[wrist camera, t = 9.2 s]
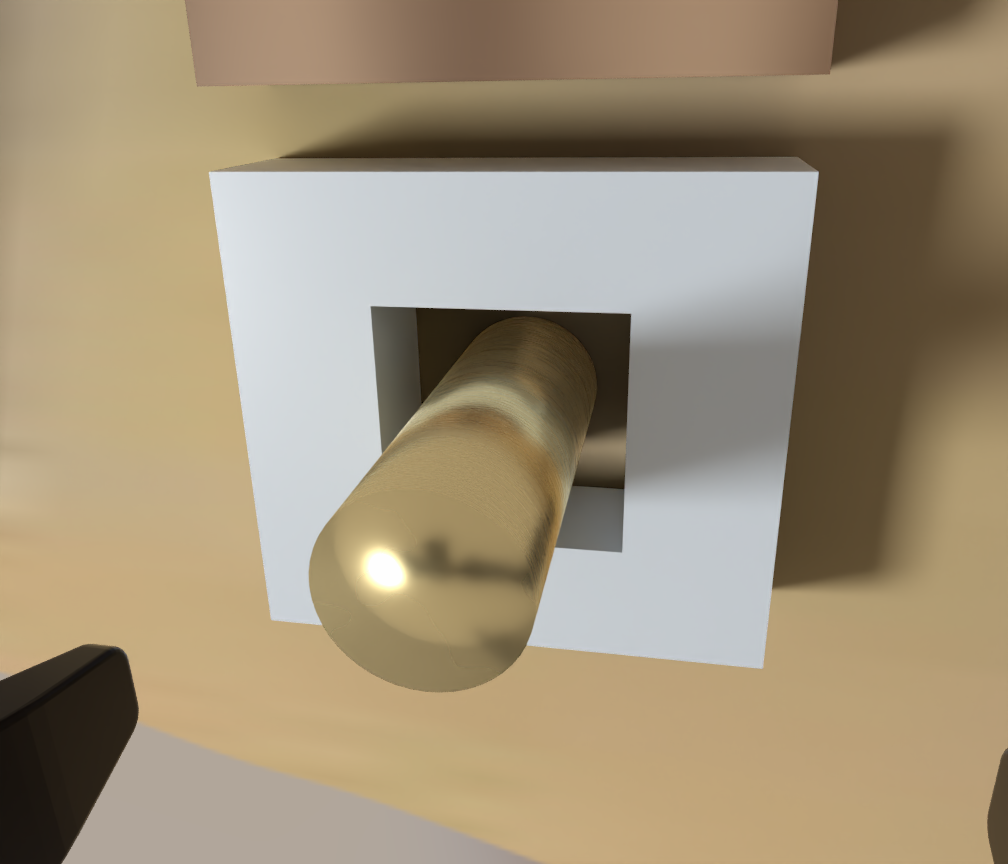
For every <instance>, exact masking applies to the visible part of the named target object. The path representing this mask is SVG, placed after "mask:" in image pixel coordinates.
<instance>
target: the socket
mask: <svg viewBox="0 0 1008 864" xmlns="http://www.w3.org/2000/svg"><path fill="white" fill-rule="evenodd" d="M818 175H819V172H818V171H817V170H816V169H814V168H813V167H811V166H810V165H808V164H807V163H806V162H804V161H803V160H801V159H800V158H798V157H553V158H276V159H271V160H266V161H261V162H256V163H250V164H245V165H240V166H235V167H230V168H225V169H220V170H215V171H210V172H209V176H210V183H211V191H212V198H213V205H214V212H215V219H216V227H217V234H218V241H219V248H220V255H221V262H222V270H223V277H224V284H225V291H226V298H227V306H228V313H229V320H230V327H231V334H232V341H233V349H234V356H235V363H236V370H237V377H238V385H239V392H240V399H241V406H242V413H243V420H244V428H245V435H246V442H247V449H248V456H249V464H250V471H251V478H252V485H253V492H254V499H255V507H256V514H257V521H258V528H259V535H260V543H261V550H262V557H263V564H264V571H265V579H266V586H267V593H268V600H269V607H270V614H271V620H276V621H286V622H296V623H307V624H317V625H322V623H321V621H320V619H319V617H318V615H317V613H316V611H315V608H314V605H313V602H312V598H311V593H310V588H309V563H310V557H311V554H312V550H313V547H314V544H315V542H316V540H317V538H318V536H319V534H320V532H321V531H322V529H323V528H324V526H325V525H326V524H327V522H328V521H329V520H330V519H331V517H332V516H333V515H334V514H335V512H336V511H337V510H338V509H339V507H340V506H341V505H342V504H343V502H344V501H345V500H346V499H347V497H348V496H349V495H350V494H351V492H352V491H353V490H354V489H355V487H356V486H357V485H358V484H359V482H360V481H361V480H362V479H363V477H364V476H365V475H366V474H367V472H368V471H369V470H370V469H371V467H372V466H373V465H374V464H375V462H376V461H377V460H378V459H379V457H380V456H381V455H382V454H383V452H384V451H385V450H386V449H387V447H388V446H389V445H390V444H391V442H392V441H393V440H394V439H395V437H396V436H397V435H398V434H399V432H400V431H401V430H402V429H403V427H404V426H405V425H406V424H407V422H408V421H409V420H410V419H411V417H412V416H413V415H414V414H415V413H416V411H417V410H418V409H419V408H420V406H421V388H420V370H419V352H418V335H417V317H416V307H418V308H453V309H487V310H521V311H556V312H590V313H625V314H631V333H630V360H629V386H628V413H627V439H626V466H625V489H614V488H598V487H583V486H572V487H571V491H570V495H569V498H568V502H567V505H566V509H565V513H564V516H563V520H562V524H561V527H560V531H559V535H558V538H557V542H556V546H555V549H554V553H553V557H552V560H551V564H550V567H549V571H548V575H547V578H546V582H545V586H544V589H543V593H542V597H541V600H540V604H539V608H538V611H537V615H536V618H535V622H534V626H533V629H532V633H531V635H530V638H529V640H528V643H527V645H528V646H539V647H549V648H559V649H569V650H579V651H589V652H599V653H609V654H619V655H629V656H639V657H649V658H660V659H670V660H680V661H690V662H700V663H710V664H720V665H730V666H740V667H750V668H760V669H763V662H764V653H765V644H766V635H767V626H768V618H769V609H770V600H771V591H772V582H773V573H774V565H775V556H776V547H777V538H778V529H779V520H780V511H781V503H782V494H783V485H784V476H785V467H786V458H787V450H788V441H789V432H790V423H791V414H792V405H793V397H794V388H795V379H796V370H797V361H798V352H799V343H800V335H801V326H802V317H803V308H804V299H805V290H806V282H807V273H808V264H809V255H810V246H811V237H812V228H813V220H814V211H815V202H816V193H817V184H818Z"/></svg>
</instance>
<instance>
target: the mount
mask: <svg viewBox="0 0 1008 864" xmlns="http://www.w3.org/2000/svg"><path fill="white" fill-rule="evenodd" d="M185 4H186V11H187V18H188V25H189V33H190V40H191V47H192V54H193V61H194V68H195V76H196V83H197V86H243V85H295V84H347V83H399V82H451V81H503V80H555V79H606V78H658V77H710V76H762V75H814V74H830V69H831V60H832V52H833V43H834V34H835V25H836V16H837V7H838V0H185Z"/></svg>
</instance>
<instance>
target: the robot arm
mask: <svg viewBox="0 0 1008 864" xmlns="http://www.w3.org/2000/svg"><path fill="white" fill-rule="evenodd" d="M138 711H139V707H138V701H137V697H136V692H135V688H134V683H133V679H132V674H131V670H130V665H129V661H128V657H127V655H126V653H125V652H124V651H123V650H122V649H120V648H118V647H115V646H106V645H97V644H86V645H82V646H80V647H77V648H75V649H73V650H70V651H68V652H66V653H63V654H61V655H59V656H56V657H54V658H52V659H50V660H47V661H45V662H43V663H40V664H38V665H36V666H33V667H31V668H29V669H26V670H24V671H22V672H20V673H17V674H15V675H13V676H10V677H8V678H6V679H3V680H1V681H0V864H61V863H62V862H63V860H64V859H65V857H66V856H67V854H68V852H69V850H70V849H71V847H72V845H73V843H74V841H75V840H76V838H77V836H78V835H79V833H80V831H81V829H82V827H83V825H84V823H85V821H86V820H87V818H88V816H89V814H90V812H91V810H92V808H93V807H94V805H95V803H96V801H97V799H98V797H99V795H100V793H101V792H102V790H103V788H104V786H105V784H106V782H107V780H108V779H109V777H110V775H111V773H112V771H113V769H114V767H115V765H116V763H117V762H118V760H119V758H120V756H121V754H122V752H123V750H124V748H125V747H126V745H127V743H128V741H129V739H130V737H131V735H132V733H133V731H134V729H135V727H136V724H137V720H138ZM987 828H988V838H989V843H990V848H991V852H992V856H993V861H994V864H1008V748H1007V749H1006V750H1005V751H1004V753H1003V755H1002V757H1001V760H1000V765H999V769H998V773H997V777H996V782H995V786H994V790H993V794H992V798H991V803H990V807H989V811H988V820H987Z"/></svg>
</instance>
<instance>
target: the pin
mask: <svg viewBox="0 0 1008 864" xmlns="http://www.w3.org/2000/svg"><path fill="white" fill-rule="evenodd" d="M596 393H597V378H596V373H595V368H594V365H593V362H592V360H591V358H590V356H589V354H588V352H587V351H586V349H585V348H584V346H583V345H582V344H581V342H580V341H579V340H578V339H577V338H576V337H575V336H574V335H573V334H572V333H570V332H569V331H568V330H566V329H565V328H563V327H562V326H560V325H558V324H556V323H554V322H551V321H548V320H545V319H541V318H537V317H527V316H526V317H513V318H508V319H505V320H502V321H499V322H497V323H495V324H492V325H491V326H489V327H488V328H486V329H485V330H483V331H482V332H481V333H480V334H479V335H478V336H477V337H476V338H475V339H474V340H473V341H472V343H471V344H470V345H469V346H468V348H467V349H466V350H465V351H464V353H463V354H462V355H461V356H460V358H459V359H458V360H457V361H456V363H455V364H454V365H453V366H452V368H451V369H450V370H449V371H448V373H447V374H446V375H445V376H444V378H443V379H442V380H441V381H440V383H439V384H438V385H437V386H436V388H435V389H434V390H433V391H432V393H431V394H430V395H429V396H428V398H427V399H426V400H425V401H424V403H423V404H422V405H421V406H420V408H419V409H418V410H417V411H416V413H415V414H414V415H413V416H412V417H411V419H410V420H409V421H408V422H407V424H406V425H405V426H404V427H403V429H402V430H401V431H400V432H399V434H398V435H397V436H396V437H395V439H394V440H393V441H392V442H391V444H390V445H389V446H388V447H387V449H386V450H385V451H384V452H383V454H382V455H381V456H380V457H379V459H378V460H377V461H376V462H375V464H374V465H373V466H372V467H371V469H370V470H369V471H368V472H367V474H366V475H365V476H364V477H363V479H362V480H361V481H360V482H359V484H358V485H357V486H356V487H355V489H354V490H353V491H352V492H351V494H350V495H349V496H348V497H347V499H346V500H345V501H344V502H343V504H342V505H341V506H340V507H339V509H338V510H337V511H336V512H335V514H334V515H333V516H332V517H331V519H330V520H329V521H328V522H327V524H326V525H325V526H324V528H323V529H322V531H321V532H320V534H319V536H318V538H317V540H316V542H315V544H314V547H313V550H312V554H311V557H310V563H309V588H310V593H311V598H312V602H313V605H314V608H315V611H316V613H317V615H318V617H319V619H320V621H321V623H322V625H323V627H324V628H325V630H326V631H327V633H328V635H329V636H330V637H331V639H332V640H333V641H334V642H335V644H336V645H337V646H338V647H339V648H340V649H341V650H342V651H343V652H344V653H345V654H346V655H347V656H348V657H349V658H350V659H352V660H353V661H354V662H355V663H357V664H358V665H359V666H361V667H362V668H364V669H365V670H367V671H368V672H370V673H371V674H373V675H375V676H377V677H379V678H381V679H383V680H385V681H388V682H390V683H393V684H395V685H398V686H402V687H405V688H409V689H413V690H419V691H425V692H454V691H460V690H465V689H469V688H473V687H476V686H479V685H481V684H484V683H486V682H488V681H490V680H492V679H494V678H495V677H497V676H498V675H500V674H502V673H503V672H504V671H505V670H506V669H508V668H509V667H510V666H511V665H512V664H513V663H514V662H515V661H516V659H517V658H518V657H519V656H520V655H521V653H522V651H523V650H524V648H525V646H526V645H527V643H528V640H529V638H530V635H531V633H532V629H533V626H534V622H535V618H536V615H537V611H538V608H539V604H540V600H541V597H542V593H543V589H544V586H545V582H546V578H547V575H548V571H549V567H550V564H551V560H552V557H553V553H554V549H555V546H556V542H557V538H558V535H559V531H560V527H561V524H562V520H563V516H564V513H565V509H566V505H567V502H568V498H569V495H570V491H571V487H572V484H573V480H574V476H575V473H576V469H577V465H578V462H579V458H580V454H581V451H582V447H583V443H584V440H585V436H586V433H587V429H588V425H589V422H590V418H591V414H592V411H593V407H594V403H595V399H596Z"/></svg>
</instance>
